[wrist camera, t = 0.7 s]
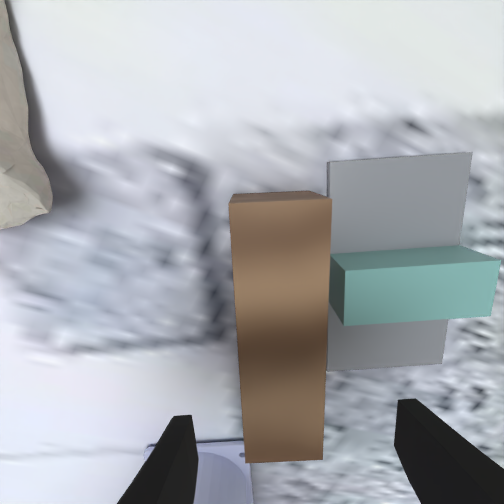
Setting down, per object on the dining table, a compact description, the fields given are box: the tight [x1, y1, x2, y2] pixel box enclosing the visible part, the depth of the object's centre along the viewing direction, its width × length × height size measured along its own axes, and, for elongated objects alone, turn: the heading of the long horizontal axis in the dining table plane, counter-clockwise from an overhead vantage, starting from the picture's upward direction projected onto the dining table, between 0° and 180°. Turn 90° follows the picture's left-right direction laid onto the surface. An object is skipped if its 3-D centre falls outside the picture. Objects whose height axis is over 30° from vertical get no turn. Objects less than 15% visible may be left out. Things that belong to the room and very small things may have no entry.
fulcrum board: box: [326, 152, 501, 372], centre depth 17 cm, size 14×8×4 cm, turn 4°
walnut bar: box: [229, 191, 332, 463], centre depth 17 cm, size 15×4×5 cm, turn 2°
